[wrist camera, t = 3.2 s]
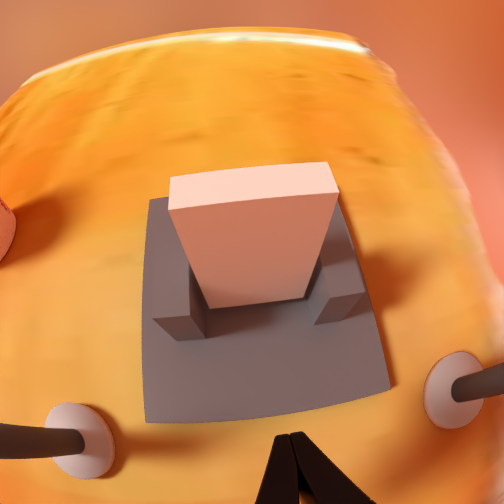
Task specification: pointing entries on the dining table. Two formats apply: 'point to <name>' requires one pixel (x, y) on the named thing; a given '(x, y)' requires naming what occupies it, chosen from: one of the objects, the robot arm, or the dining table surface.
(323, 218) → the block
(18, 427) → the post
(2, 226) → the teacup with lid
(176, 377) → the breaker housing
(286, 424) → the dining table surface
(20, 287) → the dining table surface
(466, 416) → the post
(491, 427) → the dining table surface
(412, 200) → the dining table surface
